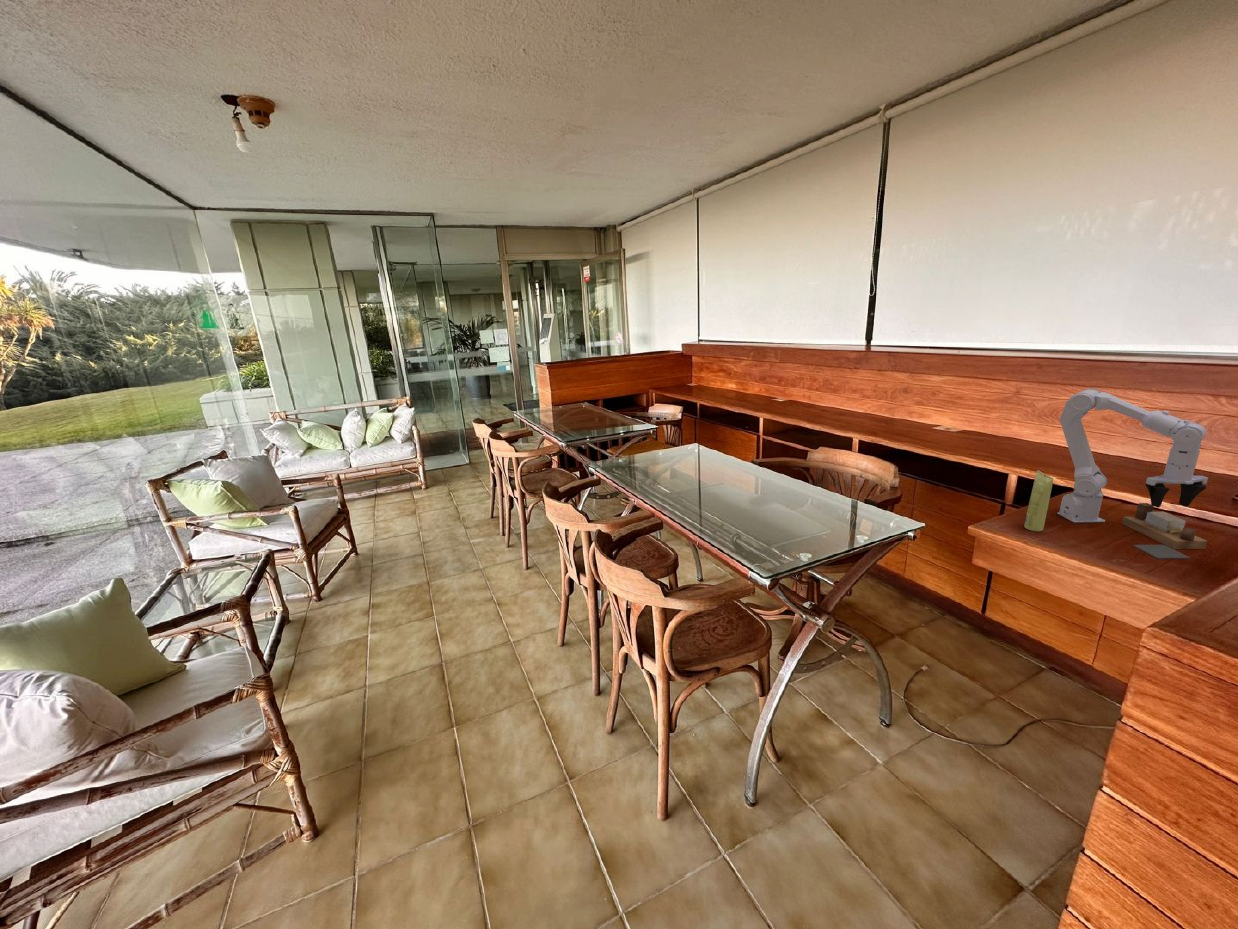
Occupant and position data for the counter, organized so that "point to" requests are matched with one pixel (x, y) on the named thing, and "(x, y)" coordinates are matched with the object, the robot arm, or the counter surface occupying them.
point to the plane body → (1171, 539)
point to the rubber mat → (1161, 552)
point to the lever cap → (1164, 521)
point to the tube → (1039, 502)
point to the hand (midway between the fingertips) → (1169, 505)
